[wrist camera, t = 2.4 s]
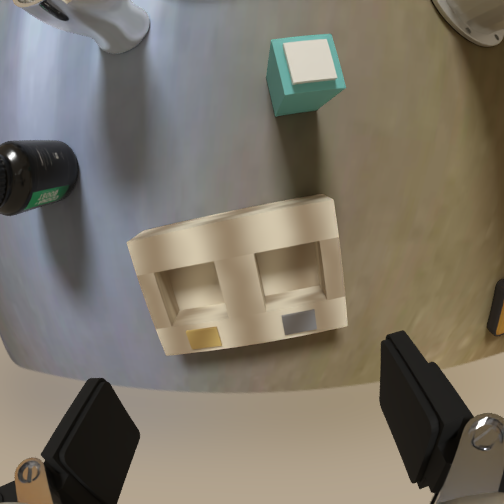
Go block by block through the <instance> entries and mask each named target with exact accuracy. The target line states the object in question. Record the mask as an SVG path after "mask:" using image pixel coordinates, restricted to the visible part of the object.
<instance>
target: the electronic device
mask: <svg viewBox="0 0 504 504" xmlns="http://www.w3.org/2000/svg"><path fill="white" fill-rule="evenodd" d="M487 328H488V330H489V331H490V332H491V333H492V334H493V335H494V336H500V335H503V334H504V279H501V280H499V281H498V283H497V284H496V287H495V293H494V297H493V302H492V307H491V311H490V315H489V319H488V323H487Z"/></svg>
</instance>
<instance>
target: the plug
mask: <svg viewBox="0 0 504 504" xmlns="http://www.w3.org/2000/svg"><path fill="white" fill-rule="evenodd" d="M266 79H267V83H268V87H269V92H270V96H271V101H272V105H273V109H274V114H275V117H276V116H282V115H288V114H295V113H301V112H308V111H316V110H318V109H319V108H320V107H322V106H323V105H324V104H325V103H327V102H328V101H329V100H331V99H332V98H333V97H335V96H336V95H337V94H338V93H340V92H341V91H342V90H344V89H345V88H346V86H345V82H344V78H343V74H342V70H341V66H340V63H339V59H338V55H337V52H336V48H335V45H334V42H333V38H332V35H331V34H321V35H308V36H298V37H289V38H281V39H273V40H271V45H270V52H269V60H268V68H267V76H266Z"/></svg>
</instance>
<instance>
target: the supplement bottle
mask: <svg viewBox="0 0 504 504" xmlns="http://www.w3.org/2000/svg"><path fill="white" fill-rule="evenodd" d="M77 174H78V165H77V160H76V157H75V154H74V152H73V151H72V149H71V148H70V147H69V146H68V145H67V144H65V143H63V142H61V141H52V140H22V141H8V142H5V143H2V144H1V145H0V214H3V215H6V216H12V215H17V214H20V213H23V212H26V211H29V210H32V209H35V208H38V207H42V206H45V205H48V204H52V203H55V202H58V201H60V200H62V199H64V198H65V197H67V196H68V195H69V194H70V192H71V191H72V189H73V188H74V185H75V183H76V180H77Z"/></svg>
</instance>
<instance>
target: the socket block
mask: <svg viewBox="0 0 504 504" xmlns="http://www.w3.org/2000/svg"><path fill="white" fill-rule="evenodd" d="M127 245H128V249H129V252H130V255H131V258H132V262H133V265H134V268H135V271H136V274H137V277H138V280H139V283H140V286H141V289H142V292H143V295H144V298H145V301H146V304H147V307H148V309H149V312H150V315H151V318H152V320H153V323H154V326H155V328H156V331H157V333H158V336H159V339H160V341H161V344H162V346H163V349H164V351H165V353H166V356H168V355H178V354H187V353H196V352H204V351H212V350H219V349H227V348H233V347H240V346H247V345H253V344H259V343H265V342H271V341H277V340H282V339H288V338H293V337H298V336H303V335H308V334H313V333H318V332H323V331H328V330H332V329H337V328H341V327H346V326H348V324H347V311H346V299H345V288H344V277H343V268H342V259H341V250H340V242H339V234H338V227H337V220H336V213H335V206H334V200H333V199H331V198H330V197H328V196H326V195H324V194H317V195H311V196H306V197H300V198H295V199H289V200H284V201H279V202H273V203H268V204H263V205H258V206H253V207H248V208H243V209H238V210H233V211H229V212H224V213H219V214H214V215H210V216H205V217H201V218H196V219H191V220H187V221H183V222H178V223H174V224H169V225H165V226H161V227H157V228H152V229H148V230H144V231H142V232H141V233H139V234H138V235H136V236H135V237H134V238H132V239H131V240H129V241H128V242H127Z"/></svg>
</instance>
